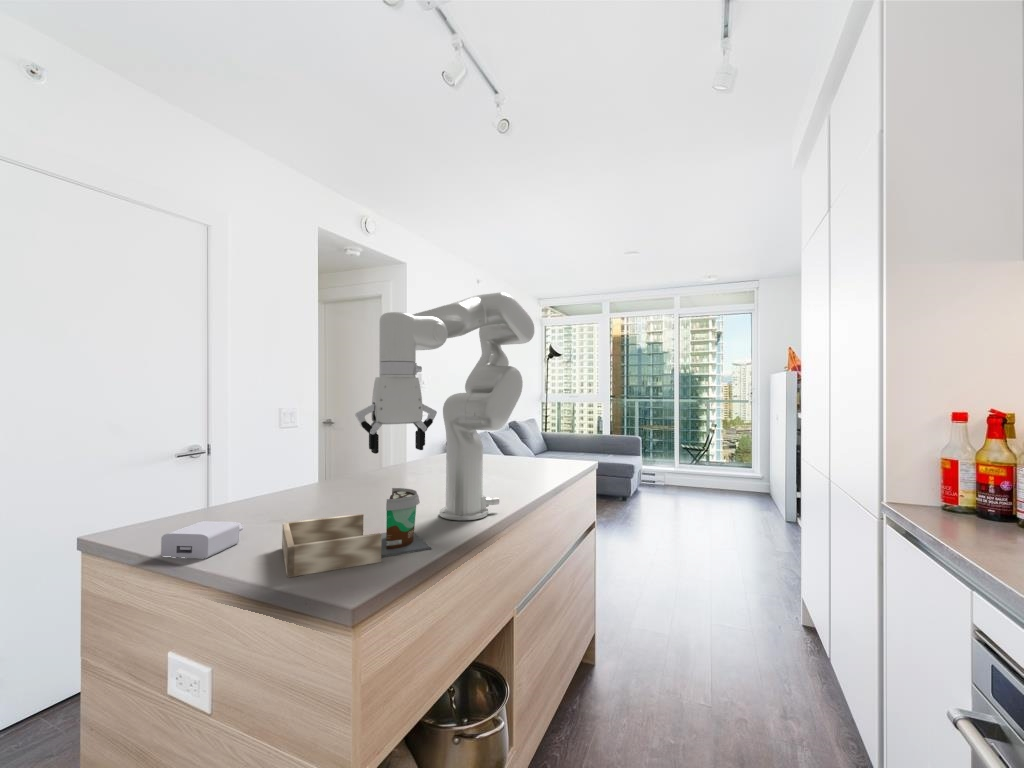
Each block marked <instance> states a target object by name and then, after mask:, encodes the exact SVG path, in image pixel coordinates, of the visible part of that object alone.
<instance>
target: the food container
mask: <svg viewBox="0 0 1024 768" xmlns="http://www.w3.org/2000/svg"><path fill="white" fill-rule="evenodd" d="M418 505H420V496H419V494H418V492H417V490H414V489H412V488H404V487H403V488H401V487H392V488H391V495H390V496H389V499H388V498H387V499H386V507H385V508H386V509H385V511H386V523H385V524H386V532H385V533H386V550H387V549H396V548H401V547H405V546H408V545H410V544H411V543H412V542H413V539H414V533H415V527H416V526H415V525H416V512H417V506H418Z"/></svg>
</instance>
